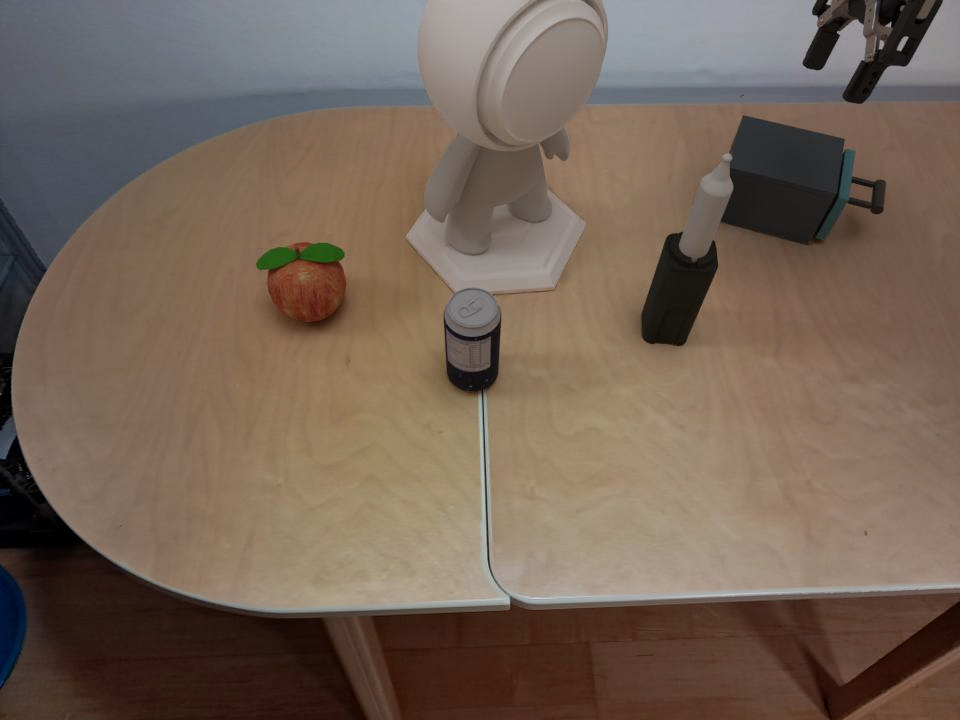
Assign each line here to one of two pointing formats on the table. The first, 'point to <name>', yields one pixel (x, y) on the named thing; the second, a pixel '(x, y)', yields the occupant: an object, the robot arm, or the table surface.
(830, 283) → the table surface
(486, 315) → the beverage can
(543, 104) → the white toy figurine
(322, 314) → the fruit
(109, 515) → the table surface
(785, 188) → the dark grey drawer cabinet
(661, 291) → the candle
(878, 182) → the drawer
